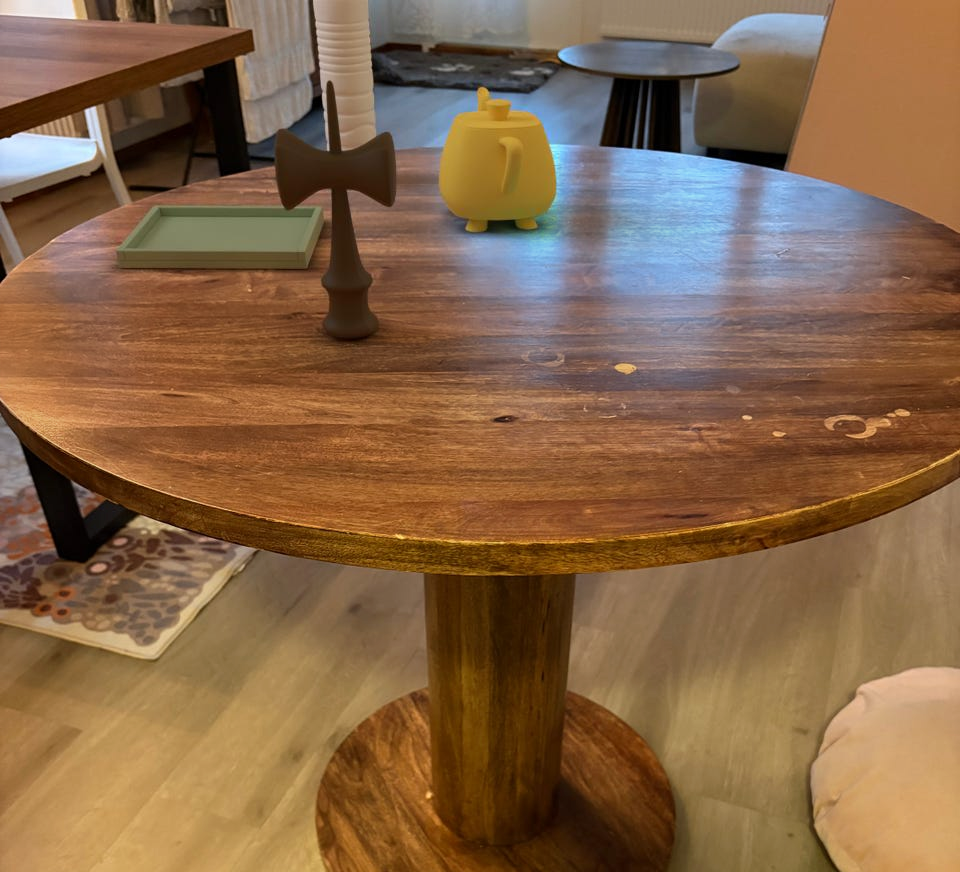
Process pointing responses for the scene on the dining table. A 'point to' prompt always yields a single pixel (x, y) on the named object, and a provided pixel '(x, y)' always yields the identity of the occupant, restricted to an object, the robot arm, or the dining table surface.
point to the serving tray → (223, 237)
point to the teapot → (497, 166)
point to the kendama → (339, 210)
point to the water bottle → (347, 67)
